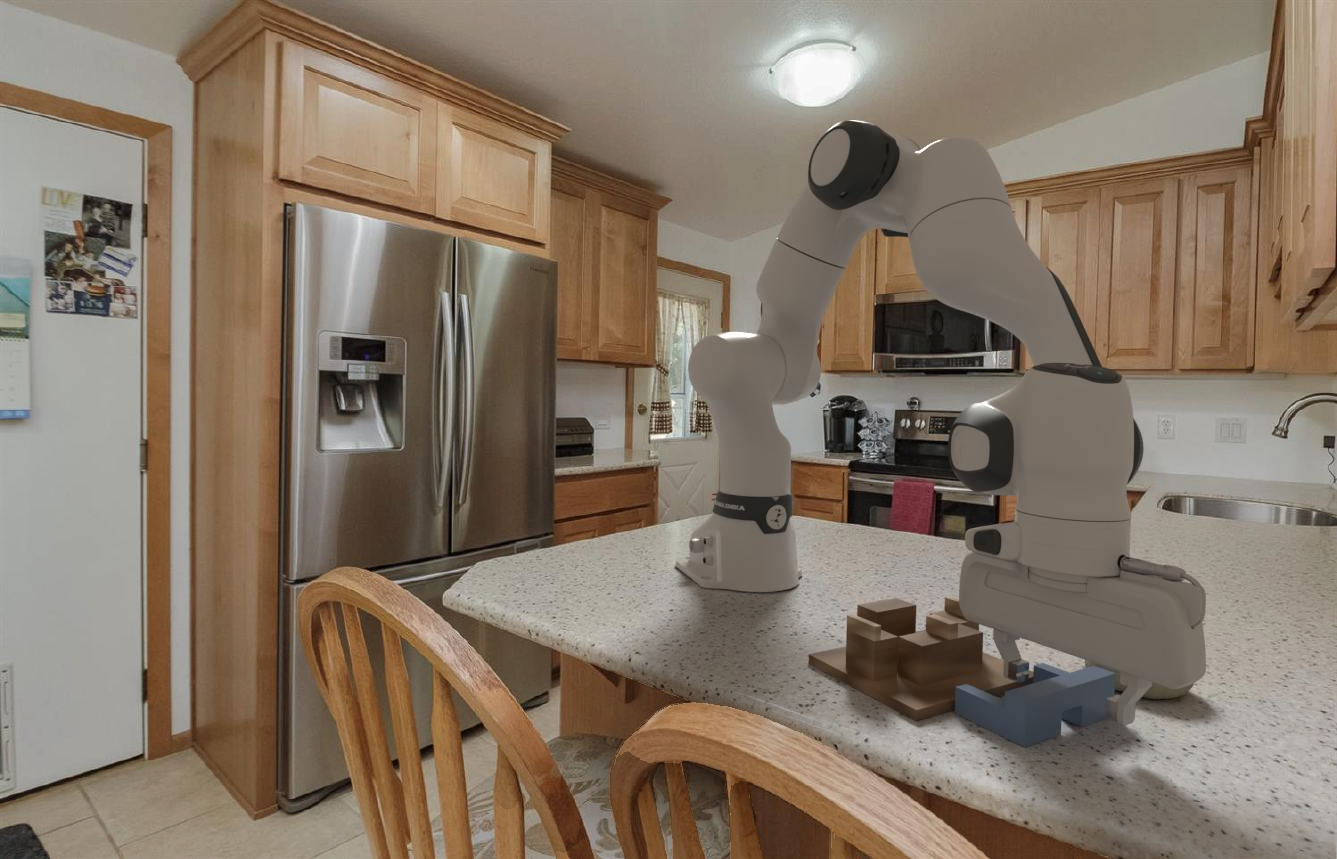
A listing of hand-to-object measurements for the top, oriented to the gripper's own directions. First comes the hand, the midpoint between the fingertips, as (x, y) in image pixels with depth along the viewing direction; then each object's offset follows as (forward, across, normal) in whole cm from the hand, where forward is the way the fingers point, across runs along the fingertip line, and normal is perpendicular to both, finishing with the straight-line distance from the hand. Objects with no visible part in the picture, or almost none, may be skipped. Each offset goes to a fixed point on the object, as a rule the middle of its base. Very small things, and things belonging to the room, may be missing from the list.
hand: (1064, 698), depth 61 cm
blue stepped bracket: (+2, +3, 0) cm, 4 cm away
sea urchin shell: (+3, +2, -16) cm, 16 cm away
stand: (+2, +14, +2) cm, 15 cm away
